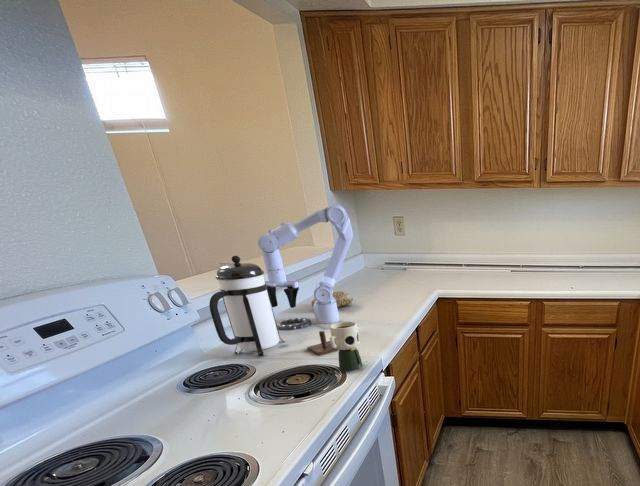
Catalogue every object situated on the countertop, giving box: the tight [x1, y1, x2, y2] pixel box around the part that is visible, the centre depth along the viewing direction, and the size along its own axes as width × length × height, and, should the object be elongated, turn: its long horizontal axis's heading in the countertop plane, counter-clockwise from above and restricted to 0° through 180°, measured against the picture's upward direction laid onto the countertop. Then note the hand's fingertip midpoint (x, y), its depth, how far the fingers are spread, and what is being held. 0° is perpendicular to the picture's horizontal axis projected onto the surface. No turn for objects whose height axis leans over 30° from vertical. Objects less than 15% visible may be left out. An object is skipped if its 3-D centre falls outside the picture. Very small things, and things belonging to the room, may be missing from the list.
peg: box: [306, 330, 339, 356], centre depth 134 cm, size 8×8×6 cm
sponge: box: [310, 291, 354, 308], centre depth 180 cm, size 13×8×20 cm
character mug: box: [329, 320, 363, 372], centre depth 117 cm, size 11×7×13 cm, turn 157°
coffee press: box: [209, 255, 285, 358], centre depth 129 cm, size 17×16×30 cm
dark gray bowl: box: [276, 317, 313, 331], centre depth 156 cm, size 12×12×3 cm
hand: (284, 306), depth 153 cm, fingers open, 7 cm apart
